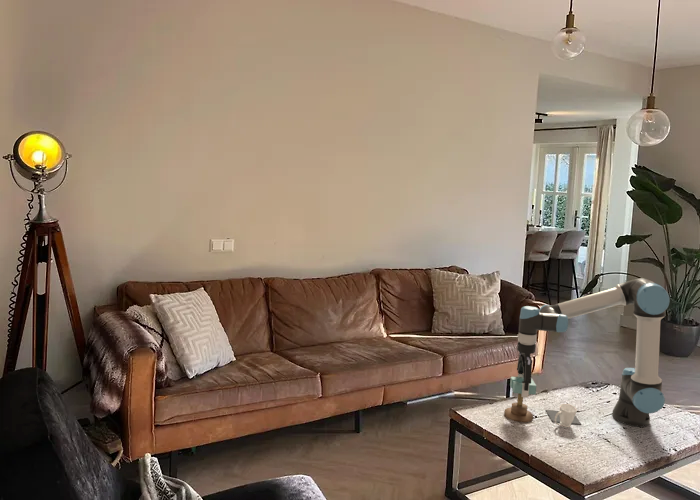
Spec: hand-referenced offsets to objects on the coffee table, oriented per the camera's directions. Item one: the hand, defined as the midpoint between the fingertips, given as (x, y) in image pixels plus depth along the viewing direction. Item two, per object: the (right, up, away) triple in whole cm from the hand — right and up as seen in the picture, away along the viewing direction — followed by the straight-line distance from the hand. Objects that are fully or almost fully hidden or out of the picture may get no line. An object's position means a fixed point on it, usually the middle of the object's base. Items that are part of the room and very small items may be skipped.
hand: (522, 392), depth 255 cm
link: (0, +1, 0) cm, 1 cm away
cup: (+16, -13, -4) cm, 21 cm away
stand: (-1, -11, +2) cm, 11 cm away
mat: (+19, -12, +4) cm, 23 cm away
